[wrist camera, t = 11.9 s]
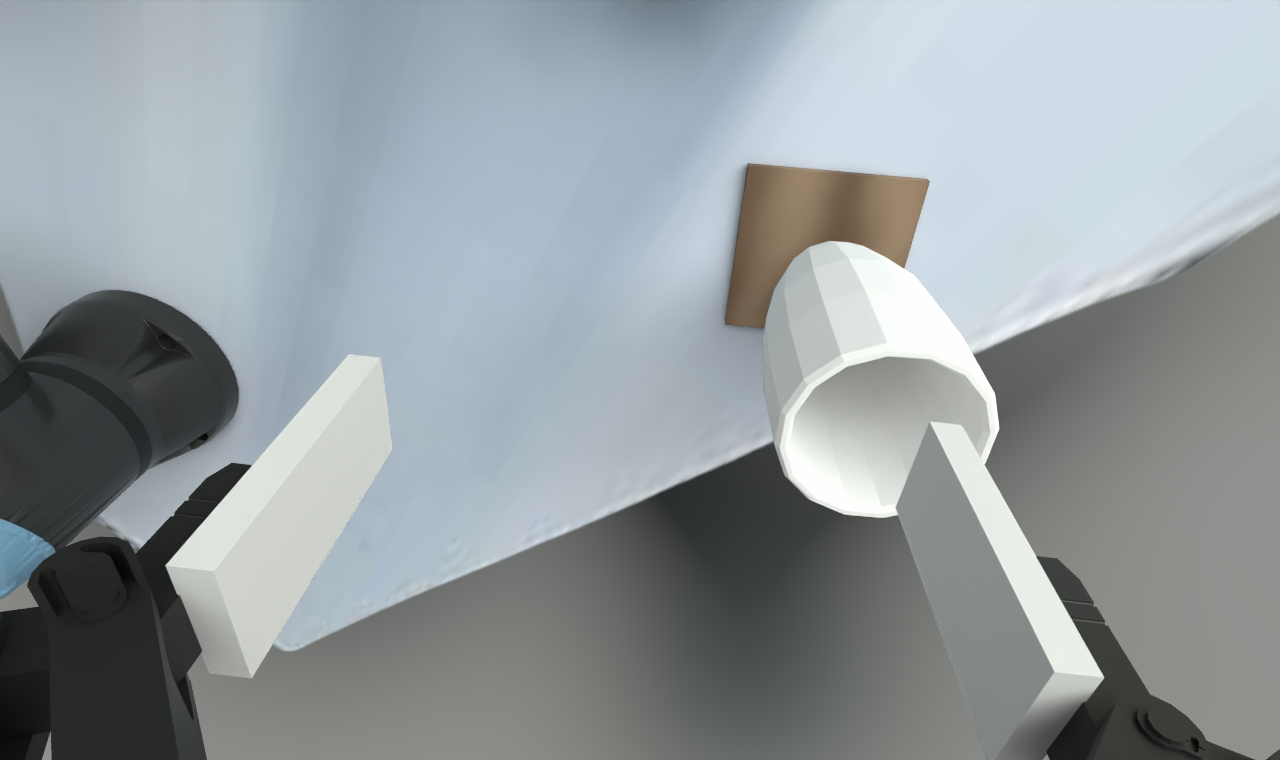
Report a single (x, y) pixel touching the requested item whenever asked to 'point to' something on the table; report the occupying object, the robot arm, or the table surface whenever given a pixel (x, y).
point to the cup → (863, 377)
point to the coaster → (814, 225)
